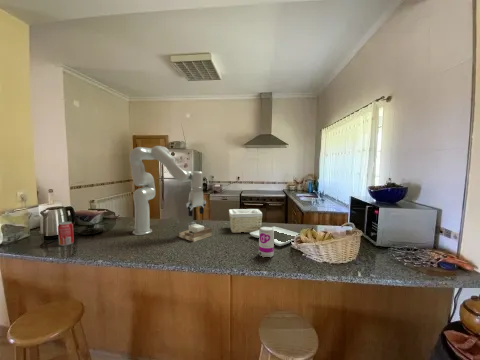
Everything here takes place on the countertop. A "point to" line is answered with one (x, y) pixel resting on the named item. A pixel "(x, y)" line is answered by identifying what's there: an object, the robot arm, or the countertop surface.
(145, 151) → the robot arm
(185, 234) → the dock
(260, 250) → the supplement can
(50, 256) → the countertop surface
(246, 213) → the storage basket
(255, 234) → the square plate
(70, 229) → the soda can
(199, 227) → the cream rod-topped slab
